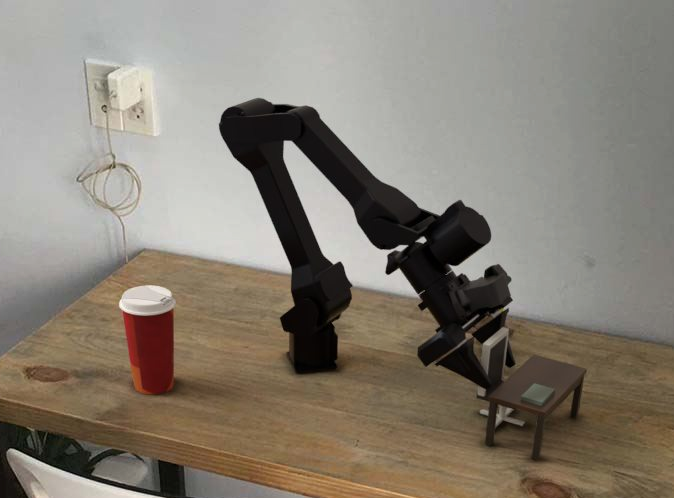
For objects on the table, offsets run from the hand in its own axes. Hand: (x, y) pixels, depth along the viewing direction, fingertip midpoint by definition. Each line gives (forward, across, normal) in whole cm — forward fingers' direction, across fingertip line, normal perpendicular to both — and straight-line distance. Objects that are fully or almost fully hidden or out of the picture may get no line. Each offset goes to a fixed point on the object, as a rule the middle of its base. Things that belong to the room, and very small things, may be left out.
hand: (501, 376), depth 153 cm
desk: (+9, 0, +1) cm, 9 cm away
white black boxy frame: (+5, 0, +4) cm, 7 cm away
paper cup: (-28, -19, +37) cm, 50 cm away
